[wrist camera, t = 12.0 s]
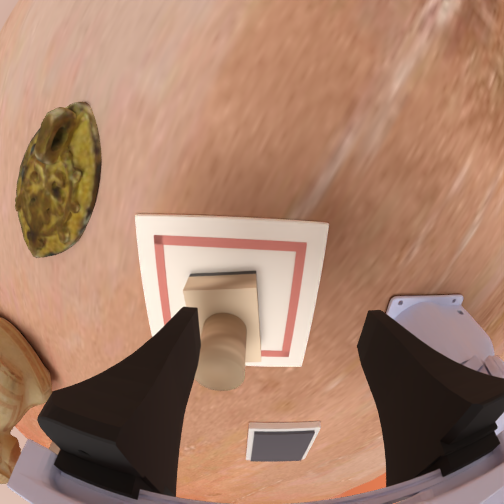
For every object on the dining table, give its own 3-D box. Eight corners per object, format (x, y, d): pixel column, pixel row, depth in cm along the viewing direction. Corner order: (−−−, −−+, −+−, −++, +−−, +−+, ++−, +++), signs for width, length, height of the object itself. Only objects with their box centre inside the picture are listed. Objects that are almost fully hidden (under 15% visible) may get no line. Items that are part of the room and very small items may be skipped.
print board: (327, 222, 19) (329, 225, 19) (300, 363, 25) (301, 367, 24) (137, 213, 19) (134, 215, 19) (157, 353, 25) (156, 357, 24)
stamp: (256, 270, 20) (256, 331, 14) (260, 341, 23) (261, 406, 17) (190, 273, 21) (164, 332, 14) (204, 343, 23) (190, 405, 17)
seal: (82, 271, 23) (132, 119, 18) (61, 299, 19) (108, 121, 13) (15, 232, 20) (49, 87, 15) (-11, 253, 16) (16, 86, 11)
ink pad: (319, 421, 30) (321, 430, 28) (303, 454, 34) (304, 461, 33) (249, 422, 29) (248, 431, 28) (246, 454, 34) (245, 462, 32)
